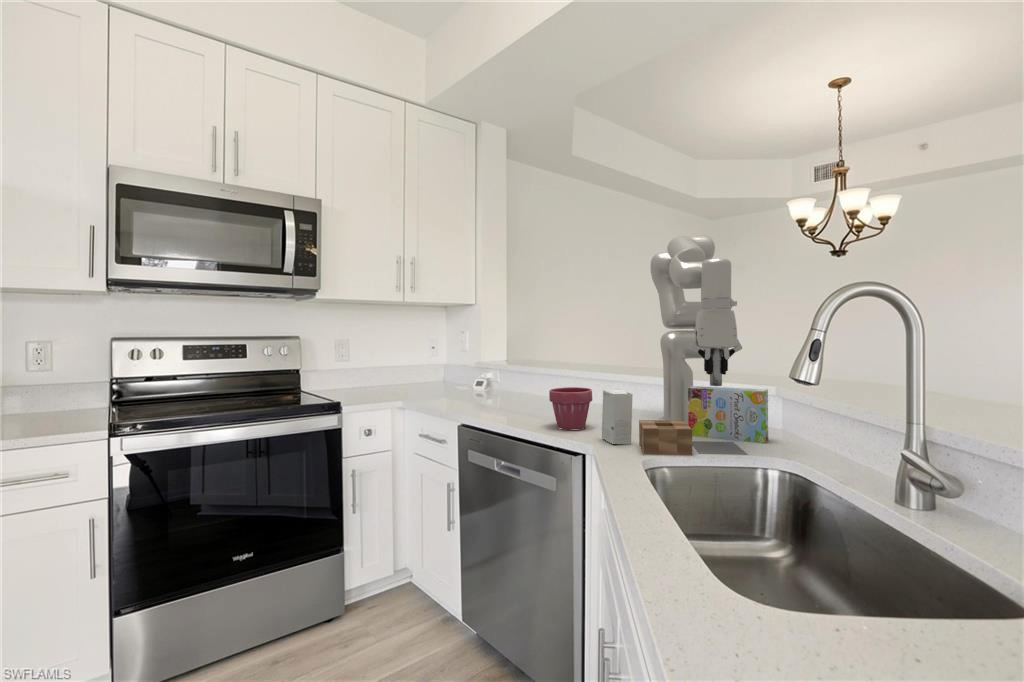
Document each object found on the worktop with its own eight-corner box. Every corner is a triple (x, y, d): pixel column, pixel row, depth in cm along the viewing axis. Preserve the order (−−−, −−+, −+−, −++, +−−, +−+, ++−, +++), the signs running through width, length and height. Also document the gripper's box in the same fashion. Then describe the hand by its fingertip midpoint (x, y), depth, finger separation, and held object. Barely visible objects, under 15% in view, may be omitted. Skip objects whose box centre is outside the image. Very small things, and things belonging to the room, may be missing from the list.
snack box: (768, 441, 141) (768, 388, 141) (766, 445, 136) (765, 390, 136) (692, 433, 153) (691, 384, 152) (687, 436, 148) (687, 386, 148)
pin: (708, 384, 134) (708, 348, 134) (720, 384, 134) (720, 347, 133) (711, 386, 131) (711, 348, 131) (723, 386, 131) (723, 348, 130)
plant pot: (541, 426, 166) (540, 389, 165) (573, 422, 174) (572, 385, 173) (568, 434, 154) (568, 393, 154) (601, 428, 162) (601, 389, 161)
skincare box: (601, 439, 146) (600, 389, 146) (620, 438, 148) (619, 388, 147) (613, 445, 138) (613, 393, 138) (633, 444, 139) (633, 392, 139)
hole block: (639, 444, 139) (639, 419, 139) (683, 445, 137) (683, 420, 137) (643, 455, 127) (643, 428, 127) (692, 456, 125) (692, 429, 125)
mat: (688, 442, 141) (688, 441, 141) (732, 443, 139) (732, 441, 139) (698, 455, 127) (698, 453, 127) (748, 456, 125) (748, 454, 125)
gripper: (744, 305, 134) (743, 372, 135) (681, 306, 137) (681, 372, 137) (753, 304, 127) (752, 375, 127) (686, 305, 129) (686, 375, 130)
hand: (715, 373), depth 132 cm, fingers closed on pin, 3 cm apart
